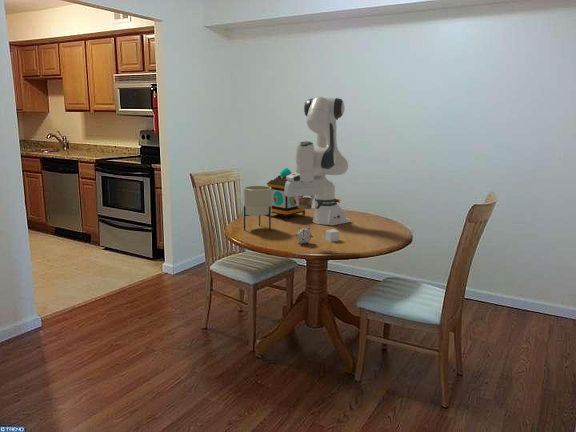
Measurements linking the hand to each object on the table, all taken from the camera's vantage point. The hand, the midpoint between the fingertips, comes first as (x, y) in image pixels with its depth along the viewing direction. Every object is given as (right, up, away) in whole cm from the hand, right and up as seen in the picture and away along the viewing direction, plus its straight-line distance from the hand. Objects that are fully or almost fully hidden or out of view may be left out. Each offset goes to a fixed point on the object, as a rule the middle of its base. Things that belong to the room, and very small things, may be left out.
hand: (304, 204), depth 224 cm
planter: (-25, -13, +33) cm, 43 cm away
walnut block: (0, -2, 0) cm, 2 cm away
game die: (0, -19, +4) cm, 20 cm away
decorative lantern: (-9, -6, +65) cm, 66 cm away
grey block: (+14, -18, +11) cm, 25 cm away
